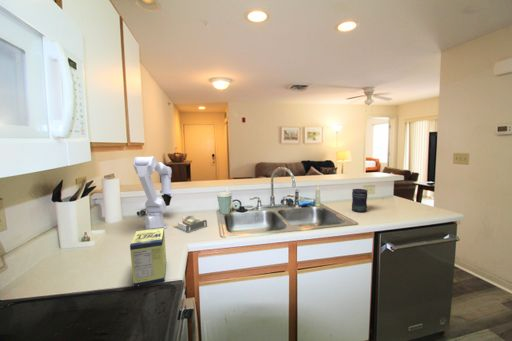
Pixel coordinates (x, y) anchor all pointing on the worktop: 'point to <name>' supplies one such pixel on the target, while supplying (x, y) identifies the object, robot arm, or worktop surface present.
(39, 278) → the worktop surface
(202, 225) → the loading dock
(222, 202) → the disposable coffee cup
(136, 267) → the protein box
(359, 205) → the storage jar
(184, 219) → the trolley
